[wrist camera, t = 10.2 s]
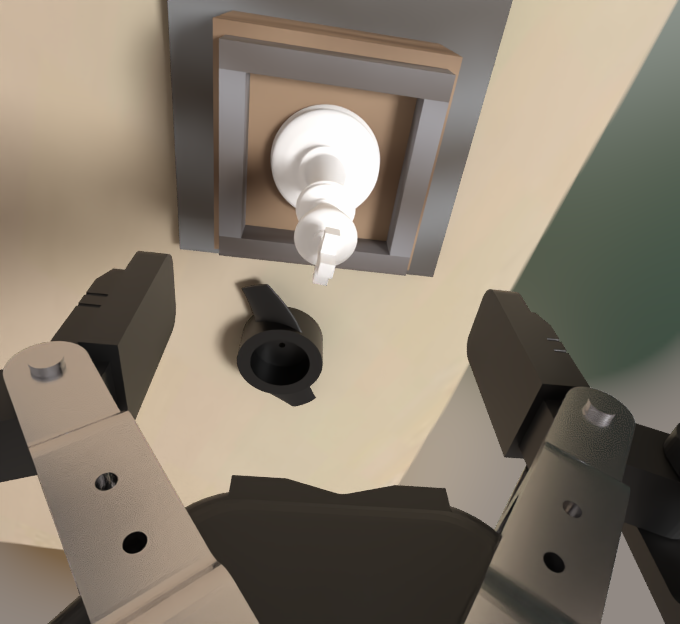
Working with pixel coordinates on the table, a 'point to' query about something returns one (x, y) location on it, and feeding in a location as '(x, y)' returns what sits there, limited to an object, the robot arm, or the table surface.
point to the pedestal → (334, 89)
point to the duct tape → (280, 348)
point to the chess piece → (325, 180)
